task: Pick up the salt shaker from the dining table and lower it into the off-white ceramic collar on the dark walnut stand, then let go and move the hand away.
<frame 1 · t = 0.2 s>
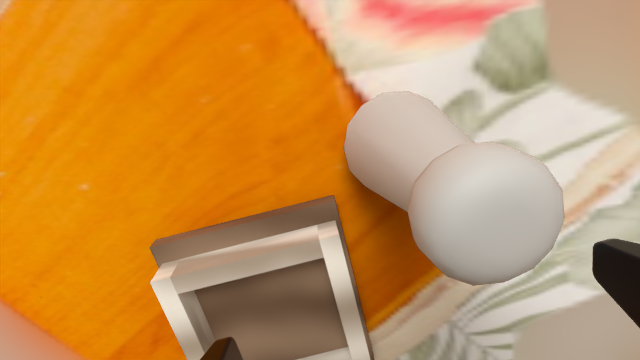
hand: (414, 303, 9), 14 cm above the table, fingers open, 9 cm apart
salt shaker: (384, 134, 22), on the table
shaker stand: (274, 303, 25), on the table
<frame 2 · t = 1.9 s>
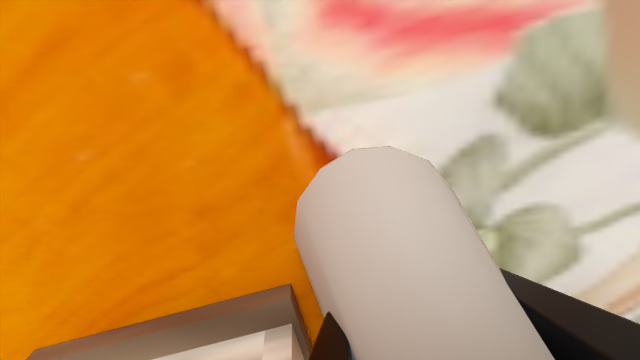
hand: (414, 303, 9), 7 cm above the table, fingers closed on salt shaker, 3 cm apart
salt shaker: (362, 199, 15), on the table, touching gripper
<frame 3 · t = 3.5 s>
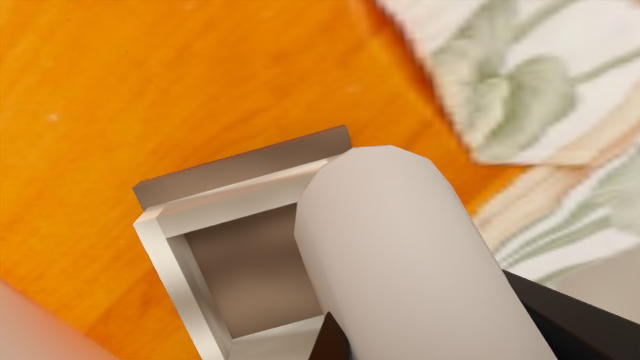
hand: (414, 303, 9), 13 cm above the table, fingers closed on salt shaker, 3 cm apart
salt shaker: (362, 198, 15), point 6 cm above the table, touching gripper
shaker stand: (278, 256, 22), on the table
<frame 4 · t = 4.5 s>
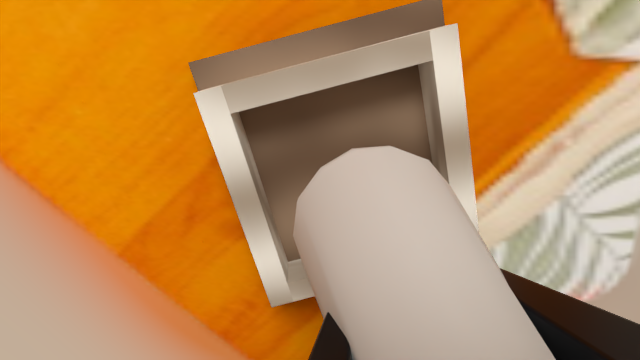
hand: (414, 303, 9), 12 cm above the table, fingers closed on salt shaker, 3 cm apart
salt shaker: (362, 199, 15), point 5 cm above the table, touching gripper
shaker stand: (344, 164, 19), on the table
when the fingers open (8 cm above the table, at t = 5.4 s): salt shaker stays where it is, resting on shaker stand.
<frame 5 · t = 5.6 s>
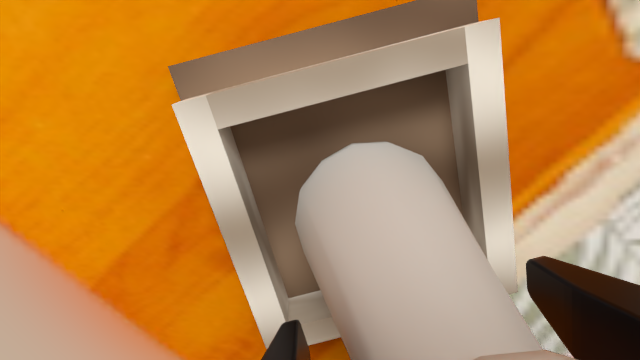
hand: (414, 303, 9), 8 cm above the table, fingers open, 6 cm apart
salt shaker: (359, 191, 16), point 1 cm above the table, touching shaker stand
shaker stand: (354, 184, 17), on the table
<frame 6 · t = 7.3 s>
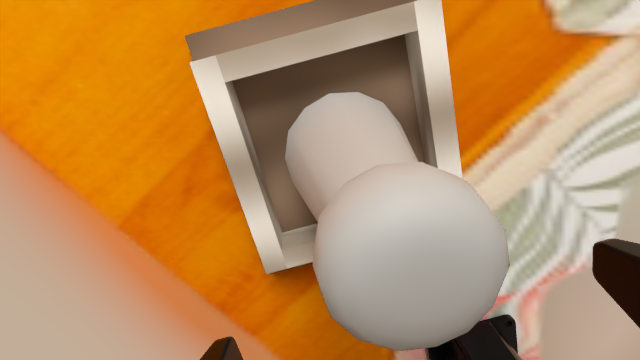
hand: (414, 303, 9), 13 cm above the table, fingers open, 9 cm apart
salt shaker: (338, 141, 19), point 1 cm above the table, touching shaker stand
shaker stand: (336, 137, 20), on the table
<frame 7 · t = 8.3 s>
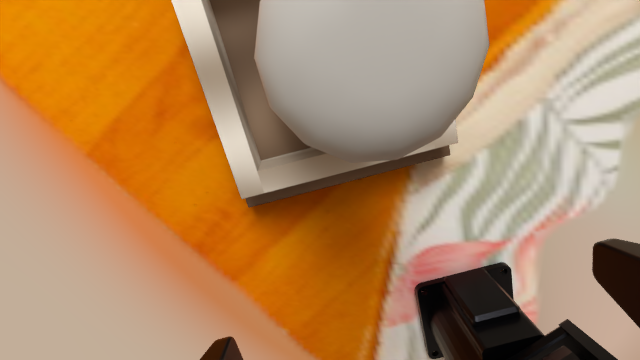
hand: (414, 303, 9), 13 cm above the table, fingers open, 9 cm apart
salt shaker: (320, 57, 18), point 1 cm above the table, touching shaker stand
shaker stand: (318, 56, 19), on the table
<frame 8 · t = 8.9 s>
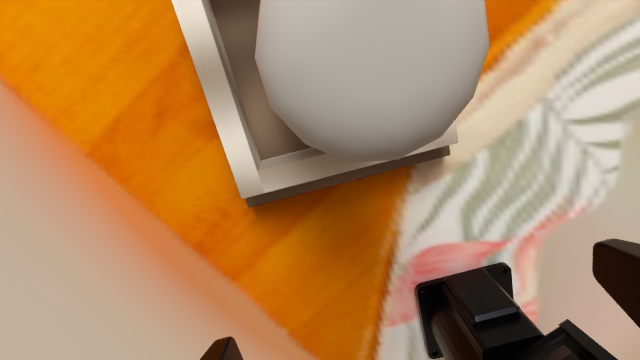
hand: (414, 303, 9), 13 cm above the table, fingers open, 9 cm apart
salt shaker: (320, 57, 18), point 1 cm above the table, touching shaker stand
shaker stand: (318, 56, 19), on the table
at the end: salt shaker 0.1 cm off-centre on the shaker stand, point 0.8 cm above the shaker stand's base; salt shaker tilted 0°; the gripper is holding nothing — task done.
